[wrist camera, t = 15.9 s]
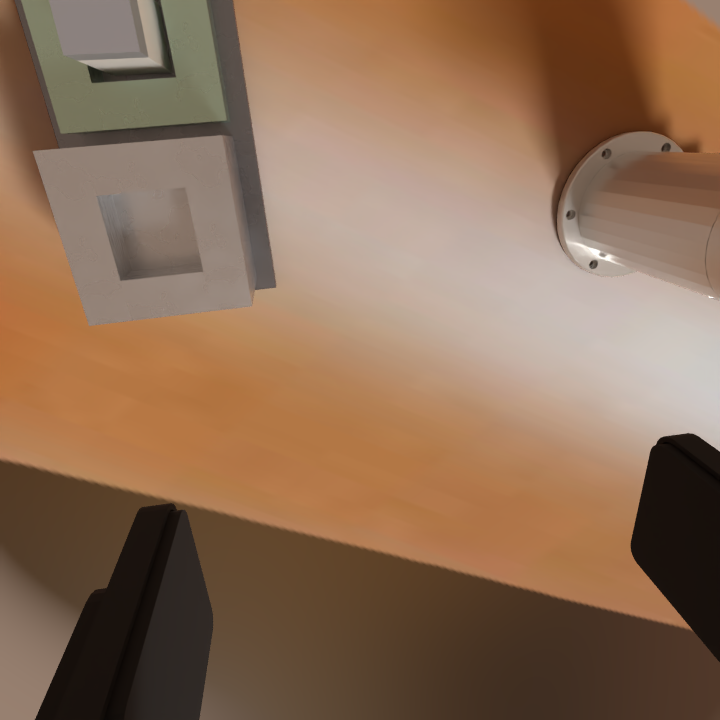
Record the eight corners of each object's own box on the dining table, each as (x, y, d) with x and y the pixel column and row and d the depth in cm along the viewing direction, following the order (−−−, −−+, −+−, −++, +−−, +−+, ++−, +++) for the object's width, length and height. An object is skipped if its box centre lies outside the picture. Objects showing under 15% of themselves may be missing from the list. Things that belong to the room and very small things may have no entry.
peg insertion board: (221, -77, 33) (202, -149, 25) (276, 284, 44) (275, 317, 35) (0, -68, 32) (-96, -141, 24) (110, 303, 42) (70, 342, 34)
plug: (159, 5, 34) (121, -39, 26) (171, 72, 35) (139, 51, 27) (97, 7, 33) (39, -37, 25) (113, 75, 35) (63, 55, 27)
